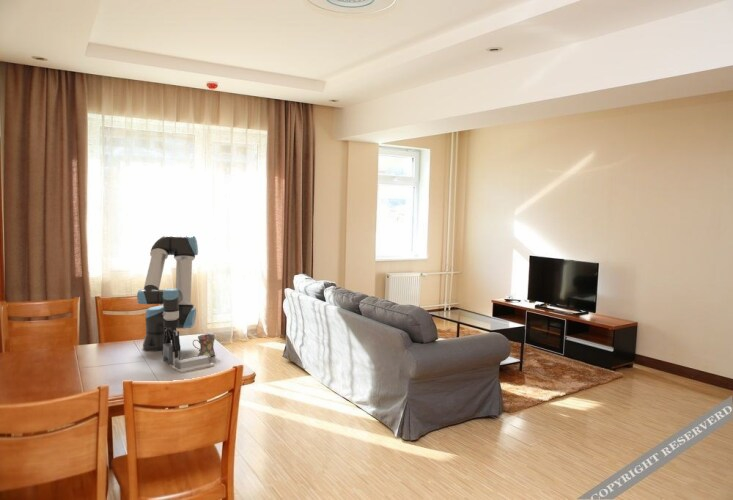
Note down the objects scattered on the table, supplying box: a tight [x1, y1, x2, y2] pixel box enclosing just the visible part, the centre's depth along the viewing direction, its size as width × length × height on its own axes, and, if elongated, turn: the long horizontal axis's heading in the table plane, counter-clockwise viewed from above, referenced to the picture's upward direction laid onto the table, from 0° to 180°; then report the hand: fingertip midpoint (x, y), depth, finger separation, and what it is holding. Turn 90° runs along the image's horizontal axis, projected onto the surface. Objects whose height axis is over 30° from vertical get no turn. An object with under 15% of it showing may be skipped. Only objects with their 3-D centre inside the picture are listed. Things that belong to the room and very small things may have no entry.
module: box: [162, 343, 182, 365], centre depth 270 cm, size 8×6×9 cm
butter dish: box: [171, 354, 215, 374], centre depth 263 cm, size 11×17×4 cm, turn 132°
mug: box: [192, 333, 217, 357], centre depth 281 cm, size 12×9×11 cm
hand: (171, 361), depth 271 cm, fingers open, 9 cm apart
